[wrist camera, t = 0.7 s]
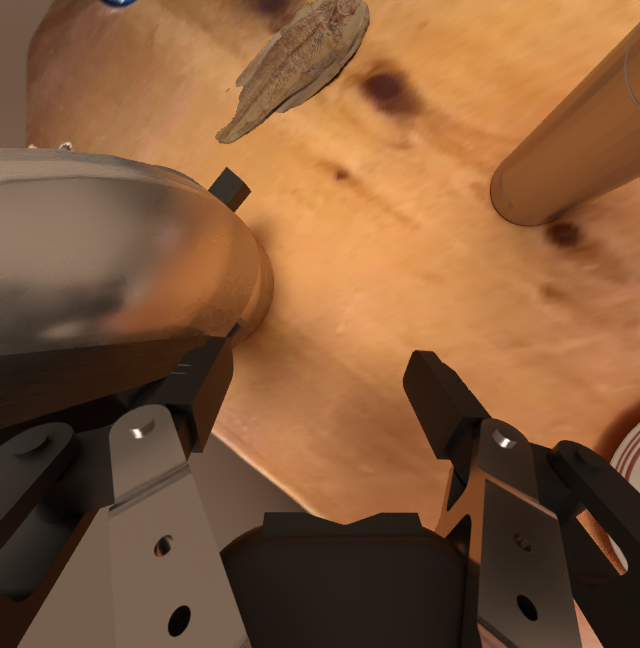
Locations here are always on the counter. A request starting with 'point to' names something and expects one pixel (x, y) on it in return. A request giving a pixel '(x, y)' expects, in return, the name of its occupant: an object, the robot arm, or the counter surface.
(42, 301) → the cooker lid
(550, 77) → the counter surface
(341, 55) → the fish fossil
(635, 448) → the dinner plate
